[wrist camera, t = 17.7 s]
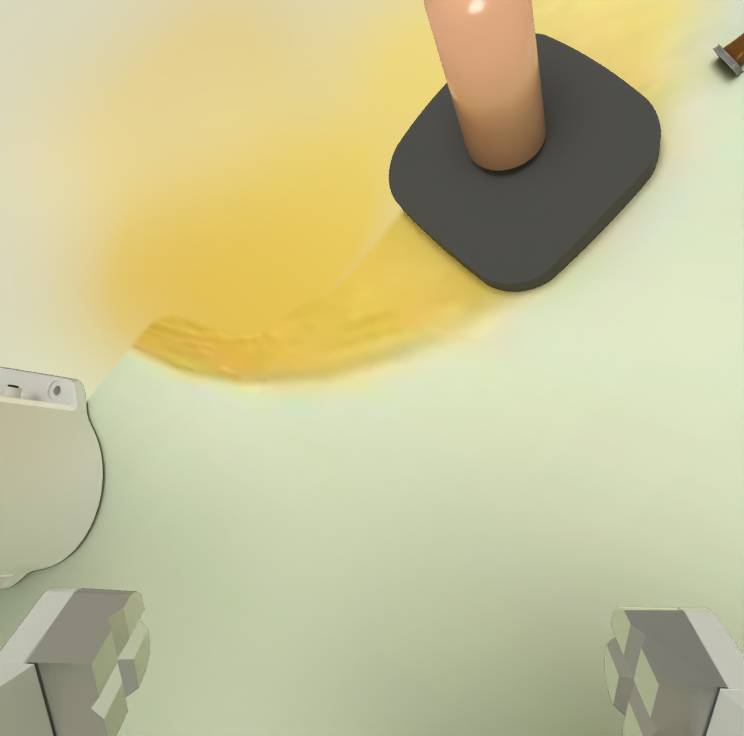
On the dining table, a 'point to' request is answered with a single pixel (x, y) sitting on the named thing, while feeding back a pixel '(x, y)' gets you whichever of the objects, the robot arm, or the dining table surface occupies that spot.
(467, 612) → the dining table surface
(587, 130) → the media streaming box
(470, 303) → the dining table surface
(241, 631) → the dining table surface
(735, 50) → the brown grey jointed tubes
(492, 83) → the salmon orange cylinder
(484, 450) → the dining table surface
